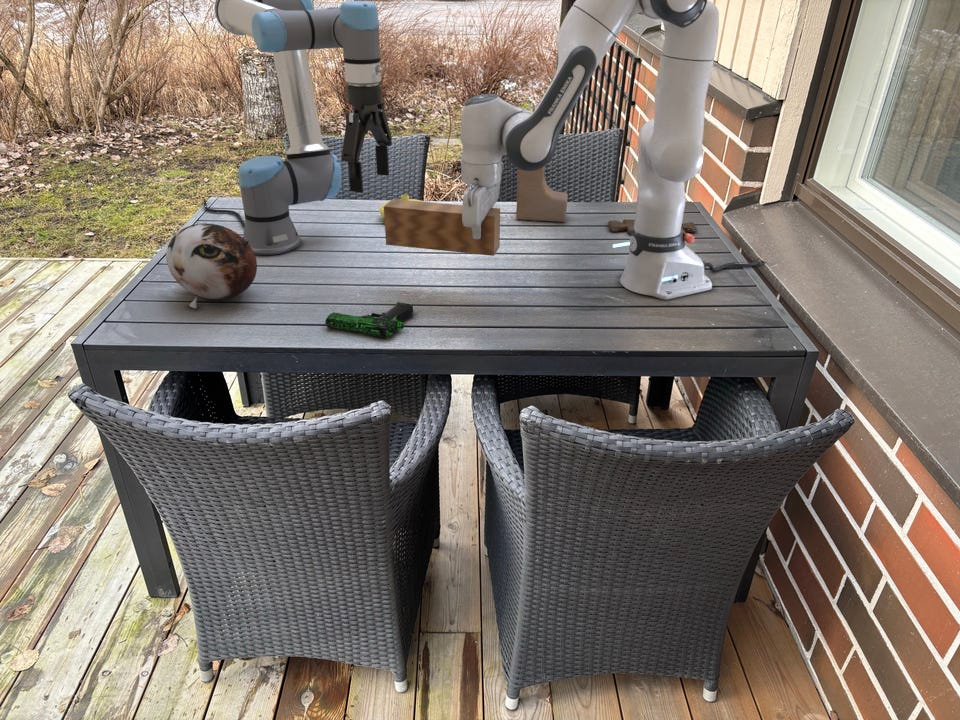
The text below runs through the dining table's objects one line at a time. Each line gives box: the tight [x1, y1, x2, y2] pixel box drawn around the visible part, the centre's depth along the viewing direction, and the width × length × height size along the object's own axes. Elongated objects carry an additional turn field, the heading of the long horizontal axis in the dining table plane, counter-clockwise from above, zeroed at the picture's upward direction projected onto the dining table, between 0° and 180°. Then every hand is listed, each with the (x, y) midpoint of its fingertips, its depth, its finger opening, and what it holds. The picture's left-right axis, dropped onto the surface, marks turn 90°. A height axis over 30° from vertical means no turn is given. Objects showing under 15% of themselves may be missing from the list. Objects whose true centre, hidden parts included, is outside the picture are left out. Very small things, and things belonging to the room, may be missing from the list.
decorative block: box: [515, 165, 568, 223], centre depth 212 cm, size 8×15×30 cm, turn 82°
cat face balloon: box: [165, 222, 258, 309], centre depth 165 cm, size 22×18×20 cm
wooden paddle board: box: [607, 219, 697, 235], centre depth 211 cm, size 26×2×10 cm
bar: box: [383, 198, 501, 257], centre depth 166 cm, size 26×6×9 cm, turn 76°
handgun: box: [324, 301, 414, 339], centre depth 158 cm, size 16×3×15 cm
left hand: (370, 182), depth 161 cm, fingers open, 13 cm apart
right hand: (481, 232), depth 164 cm, fingers closed on bar, 5 cm apart
